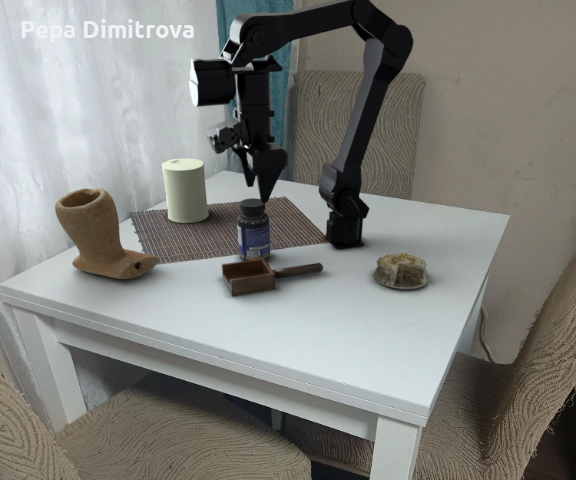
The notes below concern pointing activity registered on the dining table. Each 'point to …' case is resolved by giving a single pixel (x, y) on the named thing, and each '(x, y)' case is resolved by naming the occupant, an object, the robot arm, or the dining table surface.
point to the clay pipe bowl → (99, 235)
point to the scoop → (260, 275)
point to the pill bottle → (253, 230)
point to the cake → (401, 271)
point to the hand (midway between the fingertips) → (257, 194)
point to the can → (185, 190)
